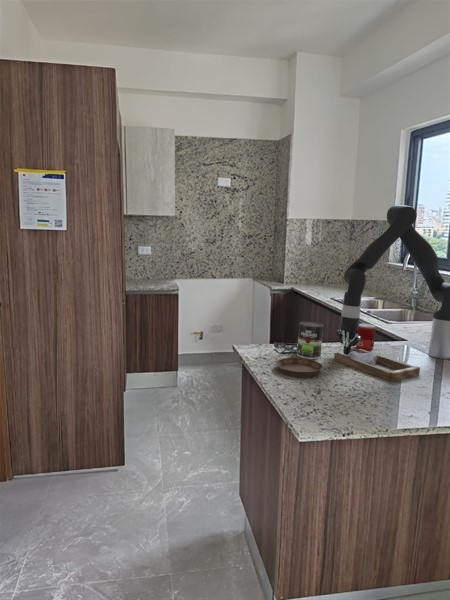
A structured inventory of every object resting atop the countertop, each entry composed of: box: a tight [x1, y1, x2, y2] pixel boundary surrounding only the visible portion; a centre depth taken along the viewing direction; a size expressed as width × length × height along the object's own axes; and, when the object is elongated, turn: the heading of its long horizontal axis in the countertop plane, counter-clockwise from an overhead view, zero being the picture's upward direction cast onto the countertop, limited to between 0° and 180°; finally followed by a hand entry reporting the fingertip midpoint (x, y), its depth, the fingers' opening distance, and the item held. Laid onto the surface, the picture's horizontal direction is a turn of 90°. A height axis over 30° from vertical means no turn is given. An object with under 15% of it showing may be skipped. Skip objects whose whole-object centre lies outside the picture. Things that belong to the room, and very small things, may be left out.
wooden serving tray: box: [333, 348, 421, 383], centre depth 185 cm, size 16×30×3 cm, turn 32°
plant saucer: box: [275, 357, 324, 378], centre depth 176 cm, size 18×18×3 cm
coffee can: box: [296, 321, 325, 360], centre depth 196 cm, size 10×10×14 cm
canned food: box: [355, 322, 376, 351], centre depth 214 cm, size 8×8×11 cm
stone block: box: [346, 350, 378, 366], centre depth 190 cm, size 12×5×10 cm
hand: (346, 354), depth 198 cm, fingers closed
